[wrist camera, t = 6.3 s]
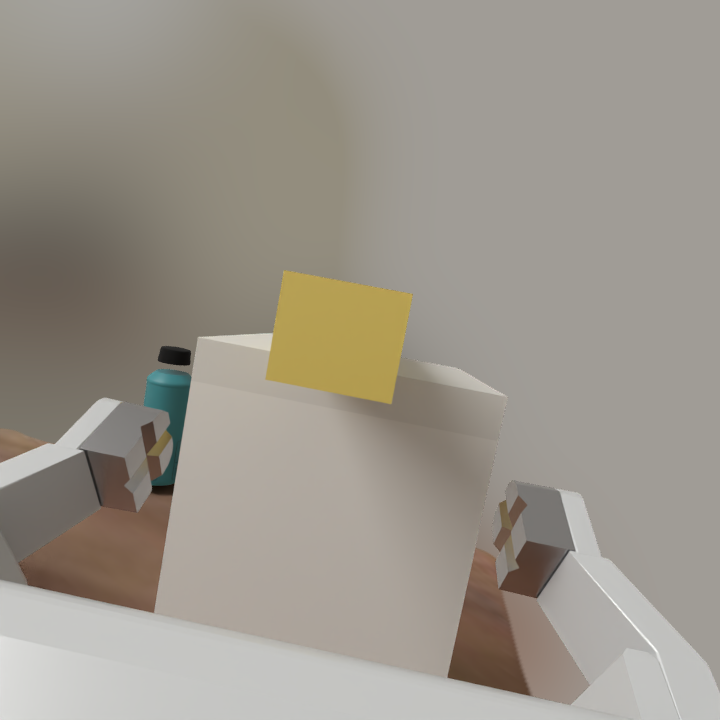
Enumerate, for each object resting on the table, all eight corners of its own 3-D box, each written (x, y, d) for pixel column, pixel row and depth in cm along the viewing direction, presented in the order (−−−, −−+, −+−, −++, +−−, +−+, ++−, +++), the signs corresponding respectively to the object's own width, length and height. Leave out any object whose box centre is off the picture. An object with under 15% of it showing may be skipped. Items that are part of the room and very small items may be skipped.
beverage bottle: (189, 491, 66) (212, 353, 64) (144, 501, 60) (168, 350, 59) (164, 475, 70) (184, 344, 68) (120, 483, 64) (141, 341, 63)
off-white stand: (394, 922, 22) (507, 397, 20) (115, 853, 23) (197, 337, 21) (391, 693, 36) (458, 368, 34) (218, 654, 37) (273, 332, 35)
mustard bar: (391, 404, 13) (412, 293, 12) (265, 379, 13) (284, 270, 12) (388, 355, 34) (396, 315, 34) (342, 346, 35) (349, 306, 34)
